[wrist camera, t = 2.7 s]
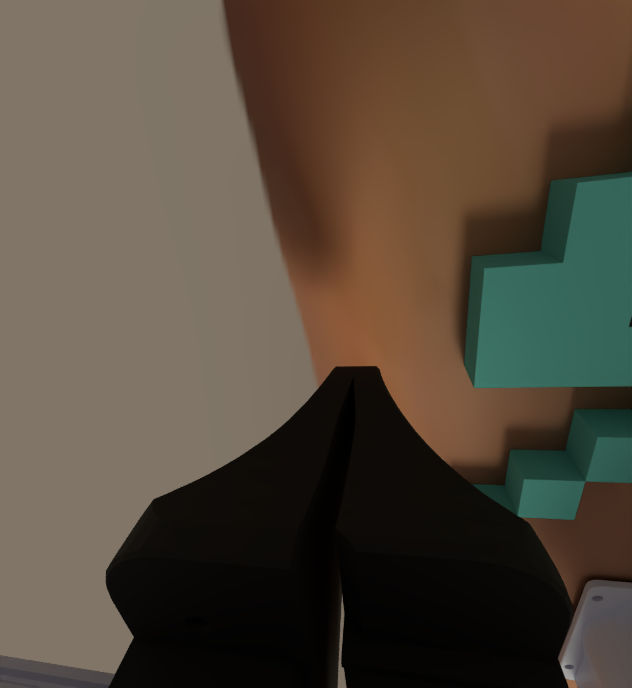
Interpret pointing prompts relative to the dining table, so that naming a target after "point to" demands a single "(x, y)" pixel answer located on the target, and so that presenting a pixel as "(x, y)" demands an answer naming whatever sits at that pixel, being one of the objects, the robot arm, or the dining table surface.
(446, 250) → the dining table surface
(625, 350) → the alien figure
